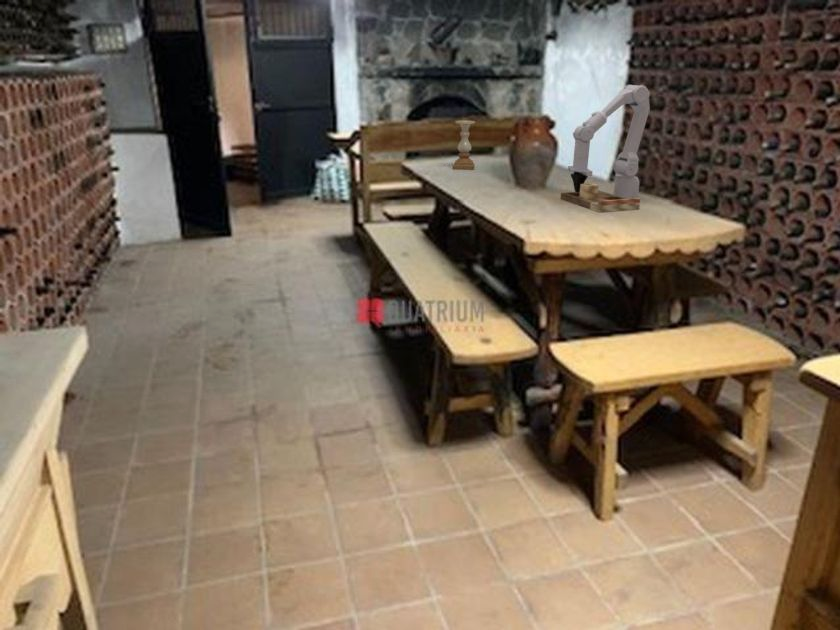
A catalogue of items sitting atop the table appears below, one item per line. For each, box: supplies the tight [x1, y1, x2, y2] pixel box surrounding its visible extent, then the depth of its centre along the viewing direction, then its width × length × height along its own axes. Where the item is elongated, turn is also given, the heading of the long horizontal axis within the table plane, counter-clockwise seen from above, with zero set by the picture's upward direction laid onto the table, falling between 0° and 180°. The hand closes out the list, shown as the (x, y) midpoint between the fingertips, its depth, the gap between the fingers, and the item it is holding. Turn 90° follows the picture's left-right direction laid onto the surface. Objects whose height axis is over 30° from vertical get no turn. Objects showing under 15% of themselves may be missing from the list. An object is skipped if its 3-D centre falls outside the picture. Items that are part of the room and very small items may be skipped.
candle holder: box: [452, 119, 476, 171], centre depth 340 cm, size 11×11×24 cm
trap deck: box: [560, 189, 641, 213], centre depth 257 cm, size 18×27×4 cm, turn 20°
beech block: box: [579, 183, 600, 199], centre depth 256 cm, size 5×5×5 cm
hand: (577, 191), depth 263 cm, fingers closed
